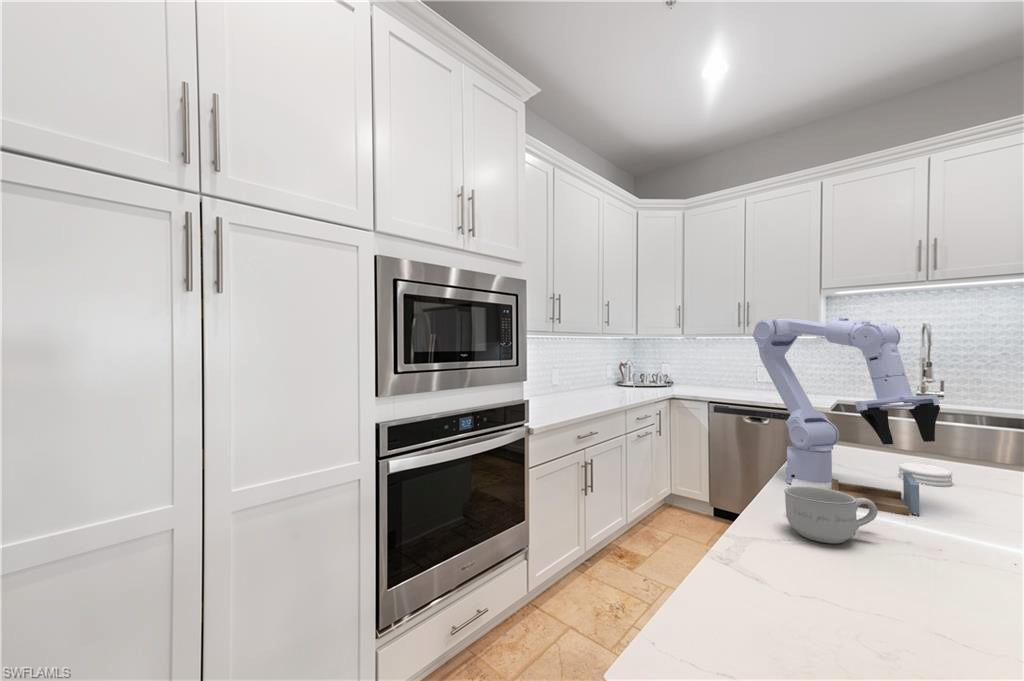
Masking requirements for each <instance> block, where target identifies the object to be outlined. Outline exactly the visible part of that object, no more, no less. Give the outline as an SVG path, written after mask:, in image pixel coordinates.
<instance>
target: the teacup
mask: <svg viewBox="0 0 1024 681" xmlns="http://www.w3.org/2000/svg"><path fill="white" fill-rule="evenodd" d="M783 491H784V496H785V497H784V498H785V499H784V501H785V512H786V520H787V522H788V523H789V525H790V526H791V527H792V528H793V529H794V530H795V531H797V533H798V534H800V536H802V537H804V538H806V539H809V540H811V541H814V542H818V543H819V542H820V543H825V544H841V543H845V542H846V541H847V540H849V539H852V538H853V537H854V536H855V534H856V531H857V530H858V529H859V528H860V527H862V526H864V525H867V524H869V523H871V522H872V521H874V520H875V519H876V517H877V516H878V511H877V508H876V506H875V504H874V503H873V502H872V501H870V500H868V499H866V498H857V499H855V498H854V497H853V496H851V495H849V494H846V493H843V492H840V491H836V490H832V488H831V489H829V488H825V487H824V488H823V487H817V486H807V485H806V486H805V485H798V486H797V485H796V486H795V485H793V486H788V487H785V488H784V490H783ZM861 504H867V505H868V507H869V509H868V510H869V511H868V513H867V514H866V515H864V516H862V517H861V518H858V519H857V512H858V508H859V507H858V506H860V505H861Z"/></svg>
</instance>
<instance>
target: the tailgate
mask: <svg viewBox="0 0 1024 681" xmlns="http://www.w3.org/2000/svg"><path fill="white" fill-rule="evenodd" d="M902 481H903V484H902V485H903V487H902V489H903V503H904V504H905V506H908V507H909V514H910V515H911V516H912V517H920V484H918V483H917V481H916V480H915V479H914V477H913V476H912V474H911V473H906V472H903V479H902Z"/></svg>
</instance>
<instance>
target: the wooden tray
mask: <svg viewBox="0 0 1024 681" xmlns="http://www.w3.org/2000/svg"><path fill="white" fill-rule="evenodd" d="M831 490H836V491H840V492H843V493H846V494H849V495H851V496H853V497H854V498H855V499H857V498H866V499H868V500H870V501H872V502H873V503H874V504H875V506H876V508H877V512H885V513H889V514H890V513H891V514H894V515H901V516H907V517H910V512H909V507H908V506H906V505H904V504H905V503H904V501H902V492H901V491H900V490H895V489H886V488H880V487H875V486H868V485H862V484H854V483H850V482H849V483H847V482H842V481H841V482H840V481H839V479H834V478H832V482H831ZM858 508H861V509H866V510H869V507H868V505H867V504H861V505H860V506H858Z"/></svg>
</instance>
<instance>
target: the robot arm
mask: <svg viewBox="0 0 1024 681" xmlns="http://www.w3.org/2000/svg"><path fill="white" fill-rule="evenodd" d="M803 334H805V335H811V336H820V337H824V338H825V340H826V341H827V342H828V343H831V344H837V345H842V346H848V347H854V348H857V349H859V350H860V351H861V353H862V356H863V357H864V359H865V362H866V366H867V369H868V373H869V376H870V379H871V381H872V386H873V389H874V390H873V391H874V392H875V396H876V399H870V400H858V401H854V405H855V408H856V411H857V412H859V414H860V416H861V417H862V418H863V419H864V420H865V421H866V422H867V423H868V425H870V427H871V428H872V430H874V432H875V433H876V435H877V436H878V438H879V439H880V442H881V443H882V445H883V446H885V445H894V439H893V436H892V431H891V429H890V425H889V424H890V423H889V410H887V409H893V408H894V409H896V408H904V407H905V408H906V407H907V408H909V407H910V408H909V409H908V411H909V413H910V414H911V416H912V417H913V419H914V421H915V423H916V425H917V428H918V431H919V434H920V436H921V439H922V441H923V442H924V443H928V442H929V443H930V442H931V443H933V442H936V437H935V436H936V434H935V433H936V432H935V431H936V423H937V419H938V416H939V413H940V410H941V407H940V400H939V397H938V394H930V395H929V394H928V395H913V392H912V389H911V386H910V383H909V379H908V377H907V374H906V371H905V367H904V364H903V361H902V358H901V354H900V350H899V349H898V345H899V344H900V342H901V333H900V331H899V329H897V328H896V327H895V326H894V325H891V324H888V323H873V324H872V323H871V321H870V320H862V321H855V320H854V321H853V320H850V318H849V317H838V319H833V320H831V321H829V322H828V323H826V322H819V321H815V320H808V319H801V318H777V319H776V318H774V319H766V318H763V319H760V320H759V321H757V322H756V324H755V327H754V330H753V333H752V337H753V339H754V341H755V343H756V345H757V347H758V352H759V354H758V355H759V358H760V361H761V363H762V364H763V366H764V368H765V369H766V370H765V371H766V372H767V373H768V376H769V377H770V379H771V381H772V383H773V385H774V387H775V389H776V391H777V392H778V394H779V396H780V399H781V400H782V401H783V404H784V405H785V408H786V410H787V411H788V413H789V416H788V418H787V420H786V421H785V425H786V427H787V429H788V437H789V439H790V441H791V443H792V444H793V445H794V446H793V445H792V446H791V445H788V446H787V448H786V467H785V474H786V479H787V480H786V483H787V484H790V485H792V483H793V479H796V480H801V481H807V482H811V483H819V484H828V483H829V484H831V483H832V479H833V472H832V470H833V468H832V467H833V457H832V456H833V454H832V450H834V446H835V445H836V444H838V441H839V440H840V439H839V438H840V433H839V429H838V428H837V427H836V425H835V424H834V423H832V422H831V421H830V420H829V419H828V418H827V416H826V415H825V413H823V412H821V411H819V410H818V409H816V408H814V406H813V404H812V402H811V401H810V399H809V397H808V395H807V394H806V392H805V390H804V389H803V386H802V385H801V383H800V381H799V380H798V378H797V376H796V374H795V372H794V371H793V368H792V367H791V366H790V364H789V362H788V360H787V358H786V356H785V355H786V353H788V351H789V350H790V349H791V347H792V346H793V344H794V343H795V341H796V340H797V338H798V337H801V336H803ZM898 403H903V404H898ZM890 404H894V405H890ZM911 407H913V408H911Z"/></svg>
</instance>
